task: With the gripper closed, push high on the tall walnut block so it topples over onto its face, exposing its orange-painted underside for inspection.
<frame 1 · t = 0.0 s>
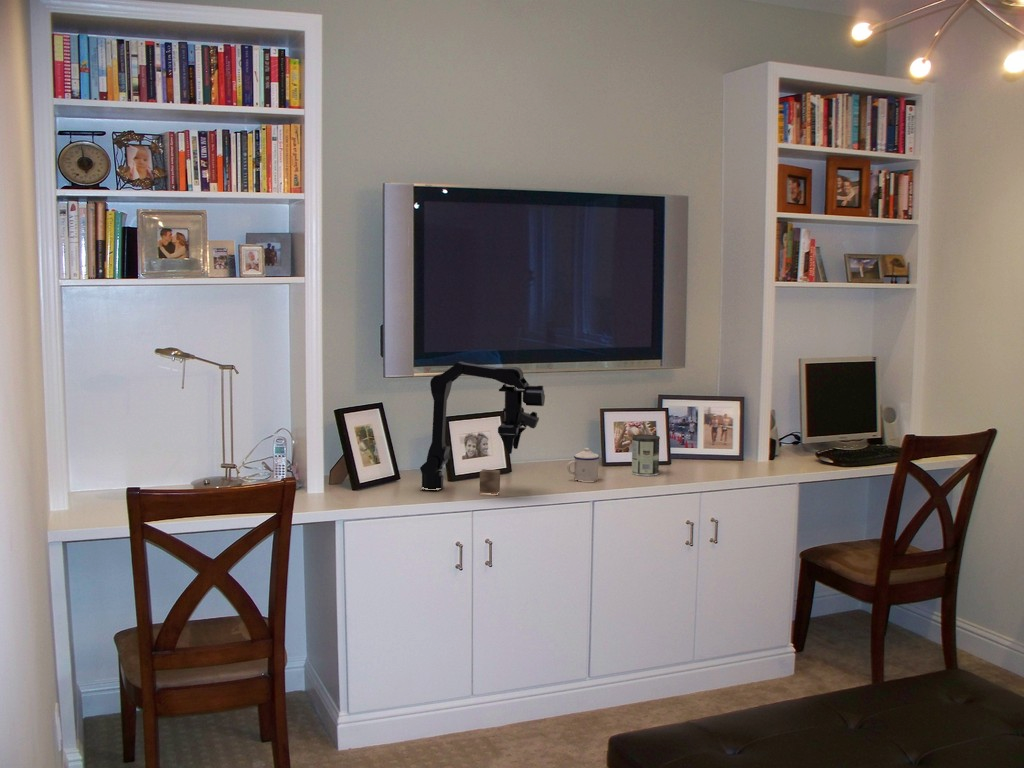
hand: (512, 451, 311), 15 cm above the table, tool pointing down, fingers open, 9 cm apart
teacup with lid: (582, 480, 335), on the table
tall walnut block: (489, 494, 312), on the table
coffee can: (644, 474, 348), on the table
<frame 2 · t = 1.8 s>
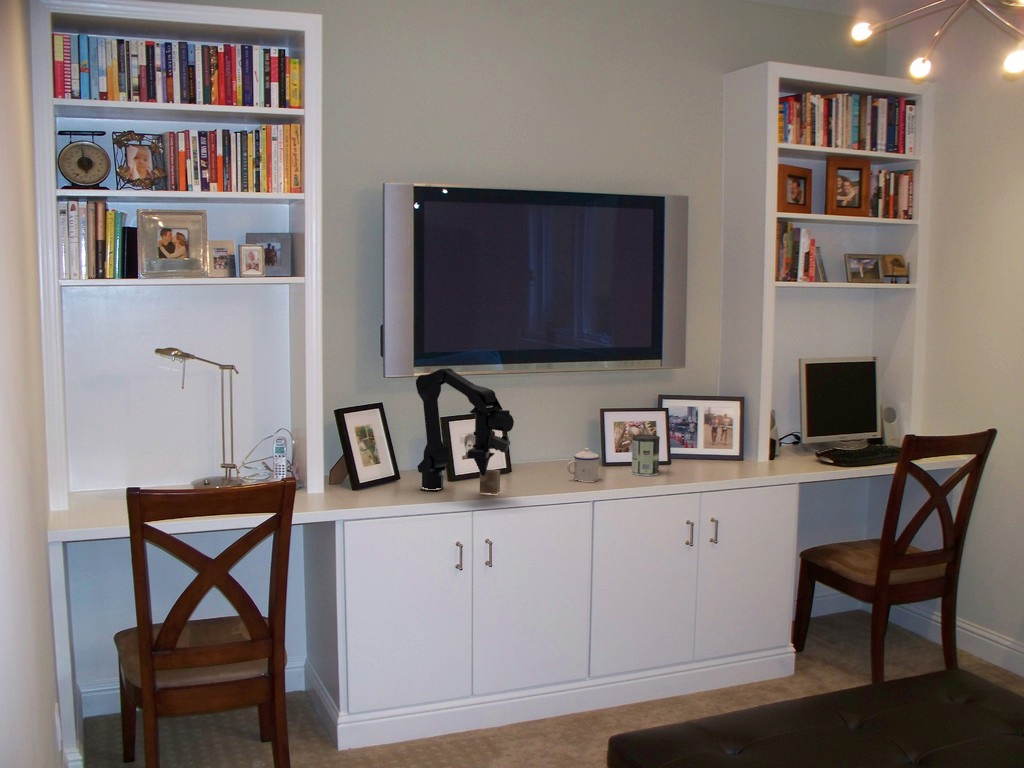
hand: (483, 475, 303), 8 cm above the table, tool pointing down, fingers closed
nothing on the table moved.
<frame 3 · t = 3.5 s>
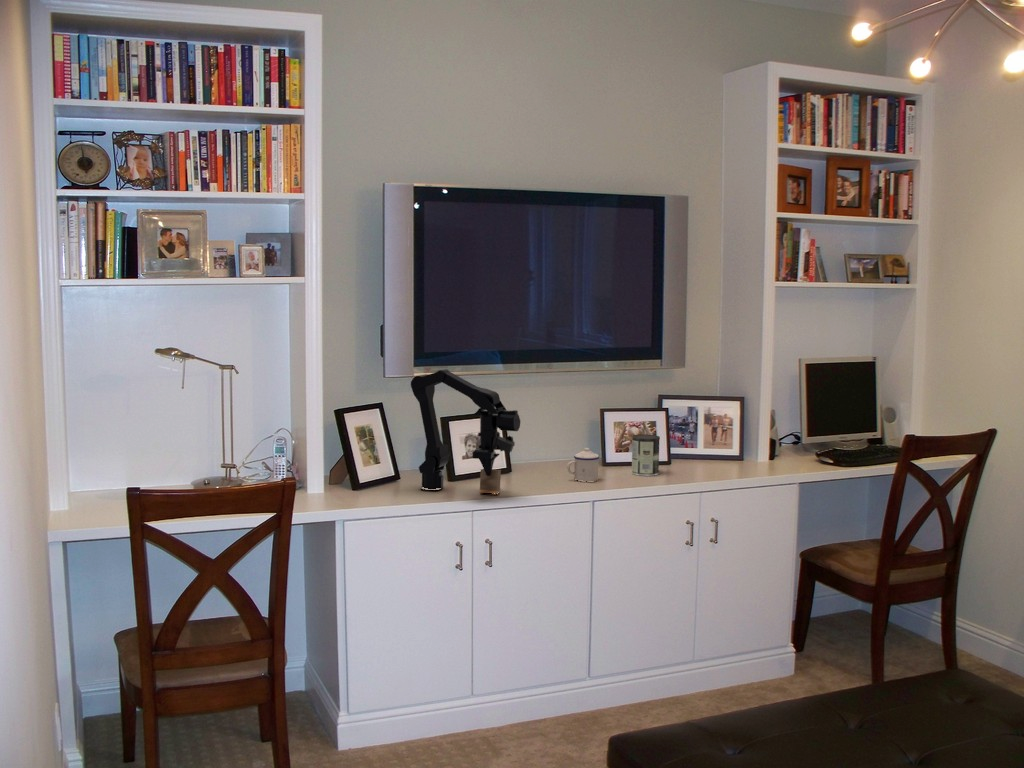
hand: (488, 475, 309), 7 cm above the table, tool pointing down, fingers closed
tall walnut block: (489, 493, 312), on the table, tilted 8°, touching gripper
everything else where it was.
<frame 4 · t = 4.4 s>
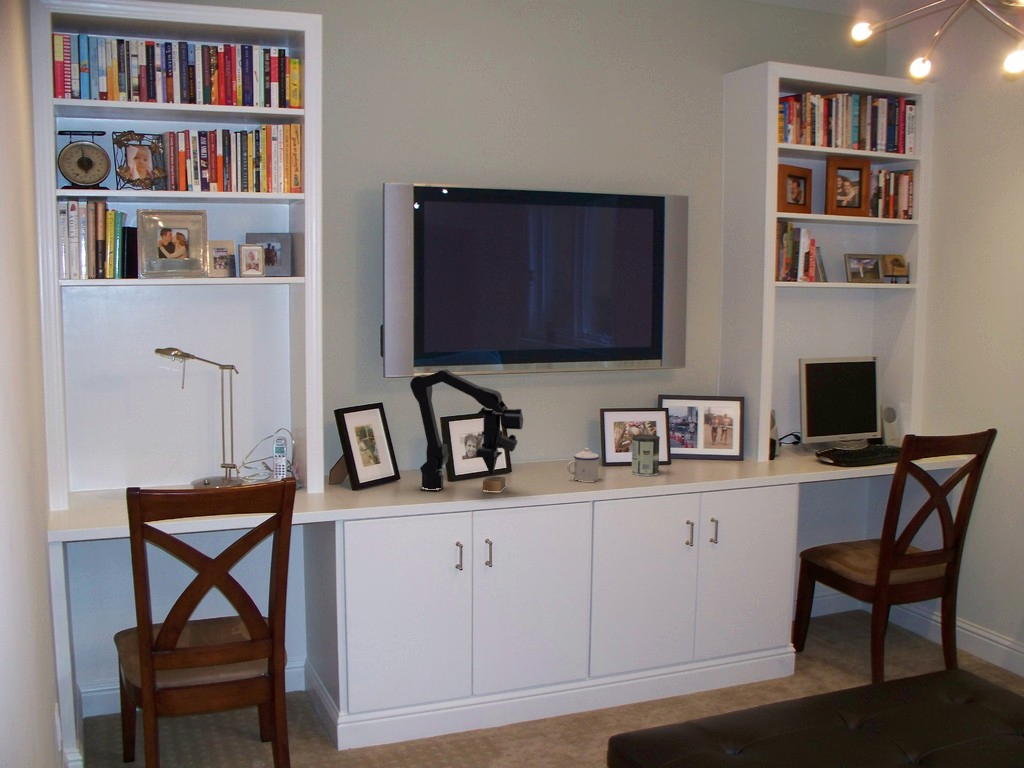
hand: (491, 473, 313), 6 cm above the table, tool pointing down, fingers closed
tall walnut block: (491, 487, 314), point 2 cm above the table, tilted 90°
everything else where it was.
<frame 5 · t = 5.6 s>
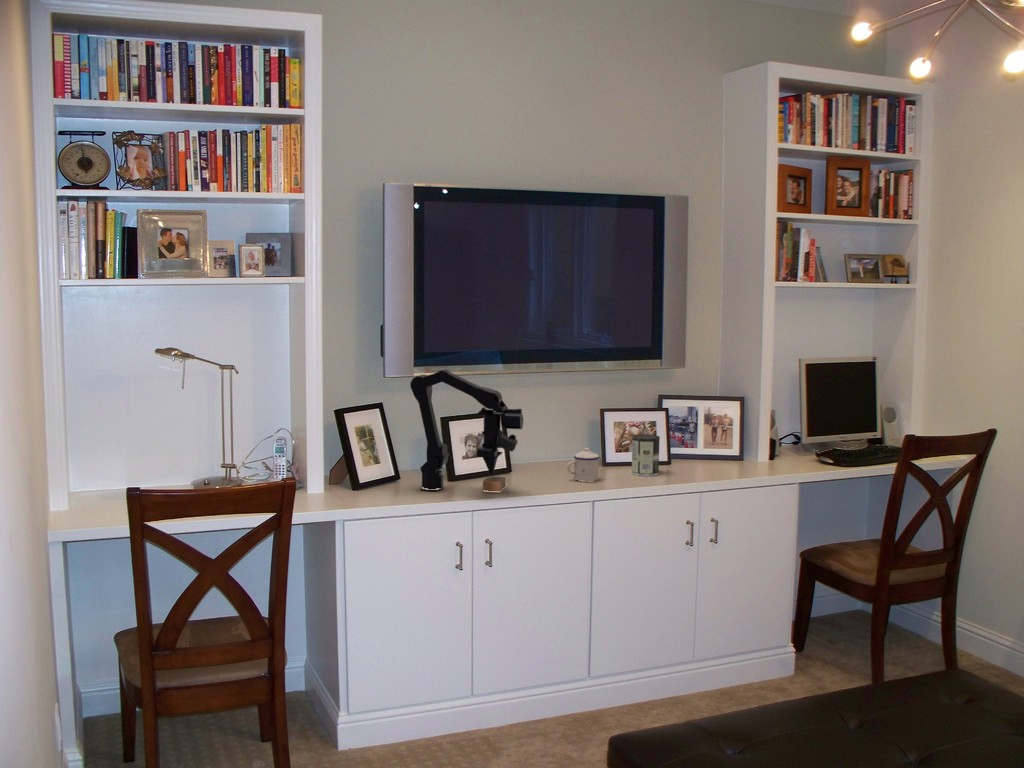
hand: (491, 473, 314), 6 cm above the table, tool pointing down, fingers closed
nothing on the table moved.
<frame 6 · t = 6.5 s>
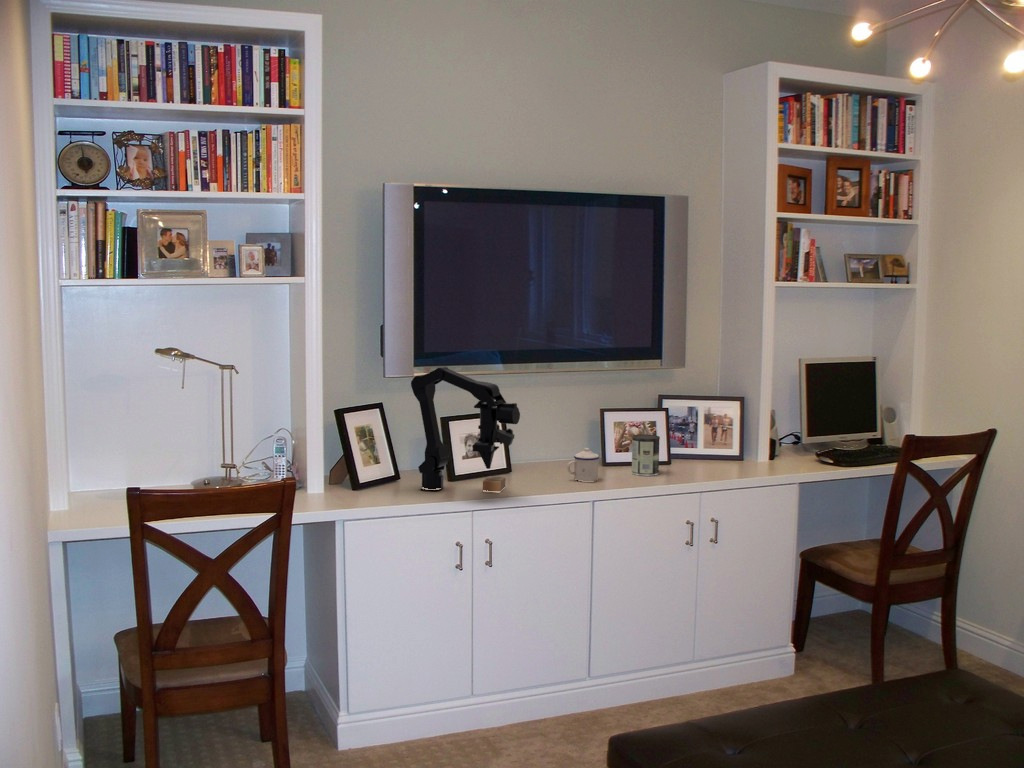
hand: (488, 468, 308), 9 cm above the table, tool pointing down, fingers closed
nothing on the table moved.
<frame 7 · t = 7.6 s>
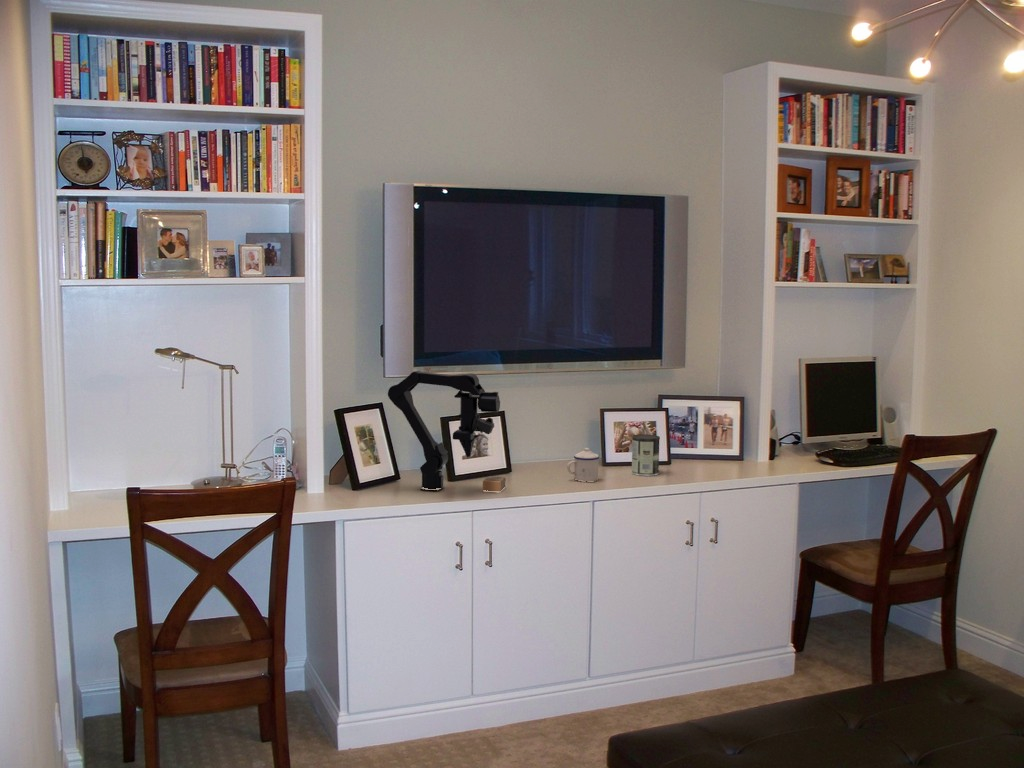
hand: (468, 456, 314), 12 cm above the table, tool pointing down, fingers closed
nothing on the table moved.
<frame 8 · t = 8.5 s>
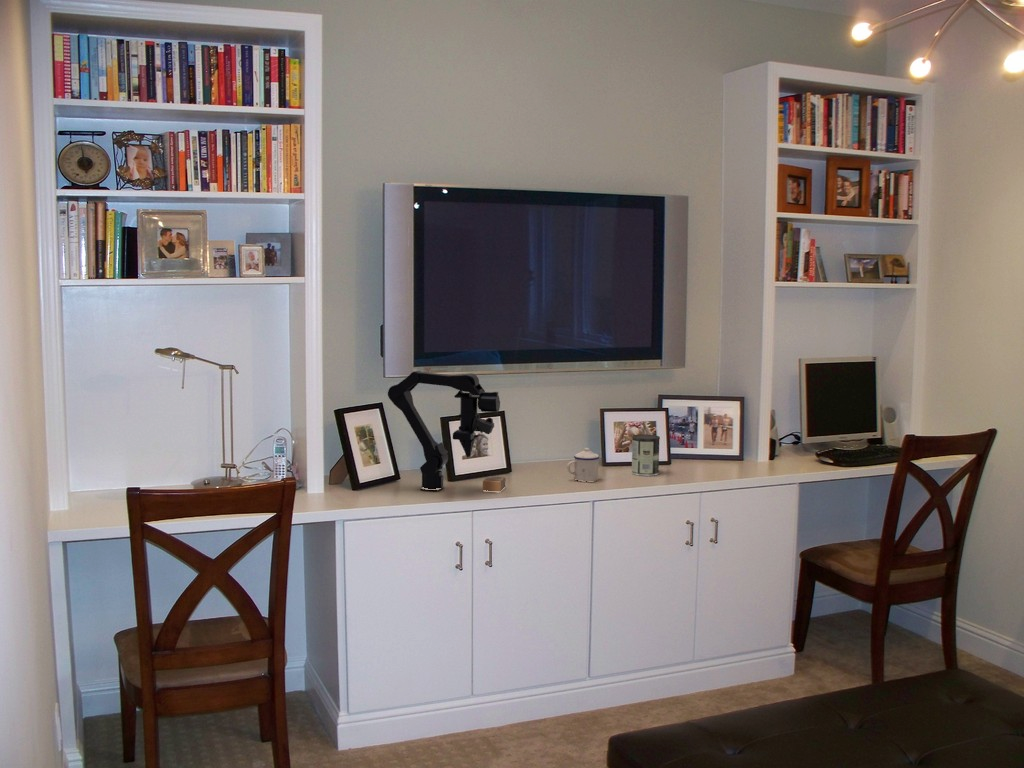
hand: (468, 456, 314), 12 cm above the table, tool pointing down, fingers closed
nothing on the table moved.
at the end: tall walnut block tilted 90°; tall walnut block inside the target area (1.5 cm from its centre), point 1.9 cm above the table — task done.
